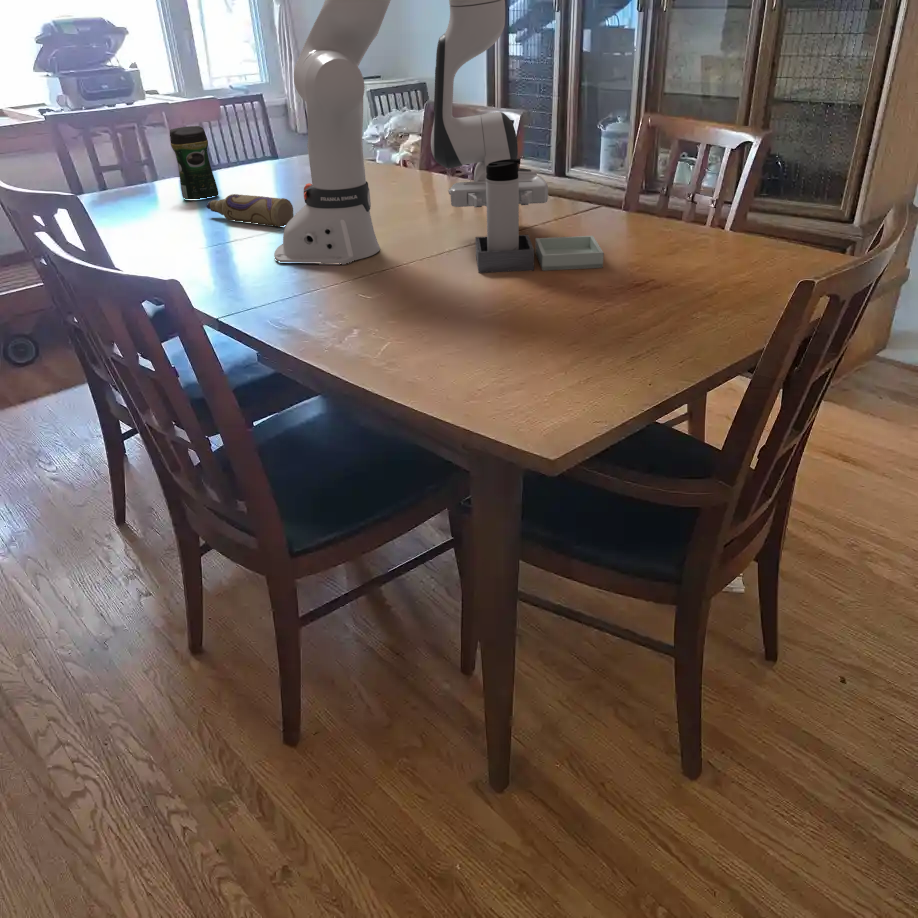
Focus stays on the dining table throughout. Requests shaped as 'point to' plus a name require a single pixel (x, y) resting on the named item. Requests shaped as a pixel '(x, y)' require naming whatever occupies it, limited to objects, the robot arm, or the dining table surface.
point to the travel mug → (502, 205)
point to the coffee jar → (193, 162)
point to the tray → (569, 253)
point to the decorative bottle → (254, 209)
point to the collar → (505, 257)
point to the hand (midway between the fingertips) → (501, 202)
